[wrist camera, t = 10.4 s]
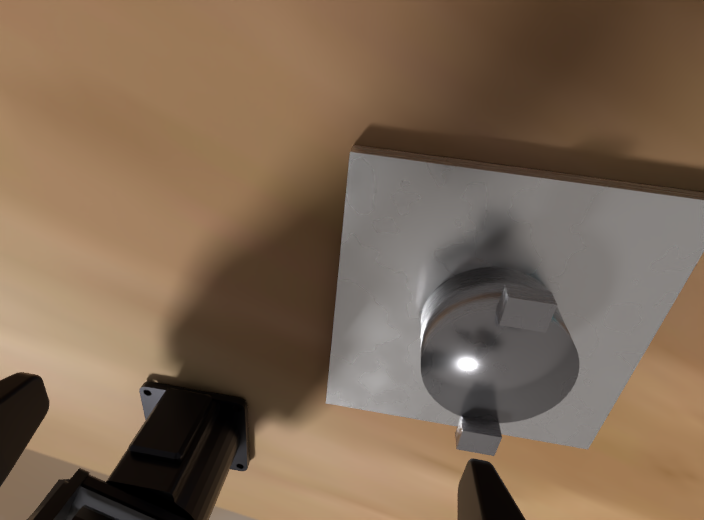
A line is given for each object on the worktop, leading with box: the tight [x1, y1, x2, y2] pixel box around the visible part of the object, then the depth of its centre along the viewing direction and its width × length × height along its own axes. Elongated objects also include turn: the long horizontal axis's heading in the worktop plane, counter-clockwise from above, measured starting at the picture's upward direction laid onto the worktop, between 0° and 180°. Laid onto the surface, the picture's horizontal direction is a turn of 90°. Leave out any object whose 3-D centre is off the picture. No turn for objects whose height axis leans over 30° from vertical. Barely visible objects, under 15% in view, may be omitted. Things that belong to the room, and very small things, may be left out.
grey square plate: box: [326, 145, 704, 456], centre depth 19 cm, size 14×14×5 cm
